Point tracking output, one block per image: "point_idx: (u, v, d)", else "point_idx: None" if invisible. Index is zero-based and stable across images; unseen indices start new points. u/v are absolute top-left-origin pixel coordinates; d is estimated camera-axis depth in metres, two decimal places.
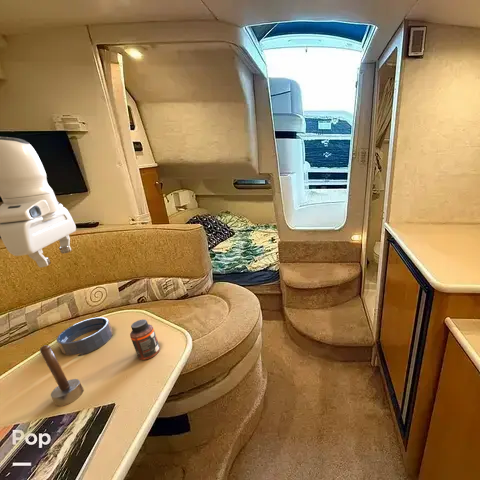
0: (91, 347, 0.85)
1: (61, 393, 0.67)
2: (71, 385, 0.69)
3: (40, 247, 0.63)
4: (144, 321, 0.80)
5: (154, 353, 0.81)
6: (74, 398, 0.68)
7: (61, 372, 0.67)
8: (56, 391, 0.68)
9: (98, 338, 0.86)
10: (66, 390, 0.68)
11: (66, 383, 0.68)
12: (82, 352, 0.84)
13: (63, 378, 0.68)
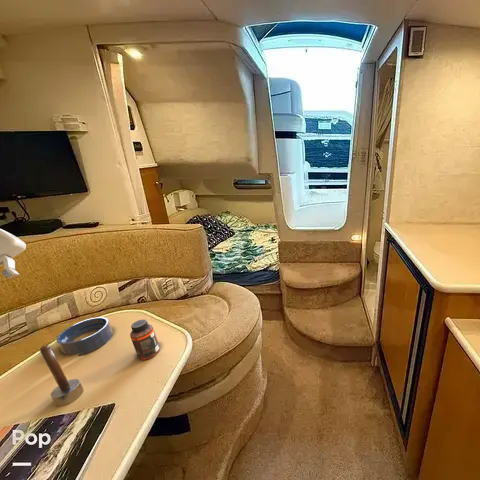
0: (91, 347, 0.85)
1: (61, 393, 0.67)
2: (71, 385, 0.69)
3: None
4: (144, 321, 0.80)
5: (154, 353, 0.81)
6: (74, 398, 0.68)
7: (61, 372, 0.67)
8: (56, 391, 0.68)
9: (98, 338, 0.86)
10: (66, 390, 0.68)
11: (66, 383, 0.68)
12: (82, 352, 0.84)
13: (63, 378, 0.68)
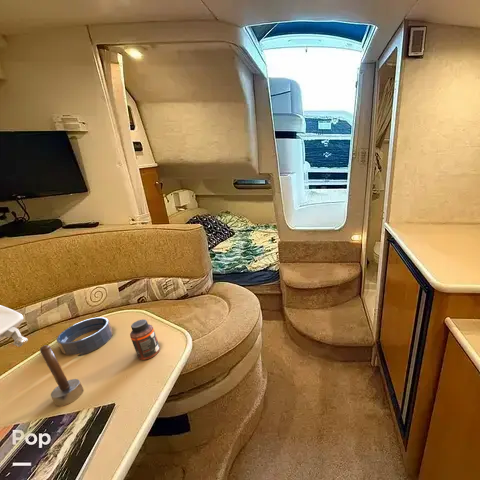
0: (91, 347, 0.85)
1: (61, 393, 0.67)
2: (71, 385, 0.69)
3: None
4: (144, 321, 0.80)
5: (154, 353, 0.81)
6: (74, 398, 0.68)
7: (61, 372, 0.67)
8: (56, 391, 0.68)
9: (98, 338, 0.86)
10: (66, 390, 0.68)
11: (66, 383, 0.68)
12: (82, 352, 0.84)
13: (63, 378, 0.68)
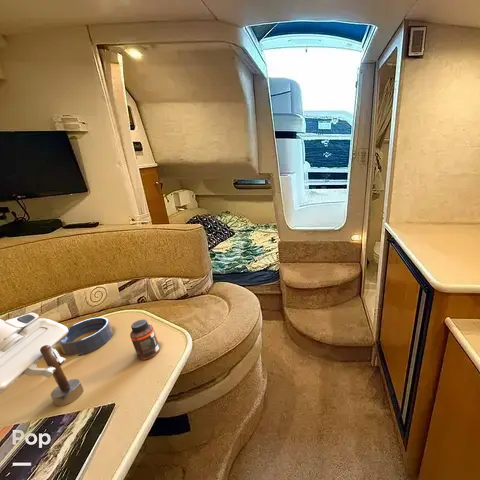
0: (91, 347, 0.85)
1: (61, 393, 0.67)
2: (71, 385, 0.69)
3: None
4: (144, 321, 0.80)
5: (154, 353, 0.81)
6: (74, 398, 0.68)
7: (61, 372, 0.67)
8: (56, 391, 0.68)
9: (98, 338, 0.86)
10: (66, 390, 0.68)
11: (66, 383, 0.68)
12: (82, 352, 0.84)
13: (63, 378, 0.68)
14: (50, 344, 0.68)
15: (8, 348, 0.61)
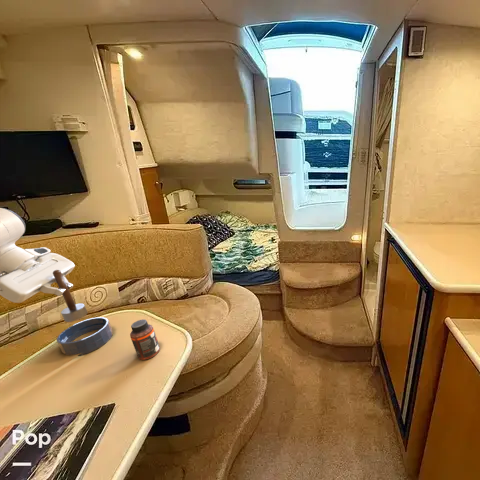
0: (91, 347, 0.85)
1: (69, 311, 0.82)
2: (78, 307, 0.84)
3: None
4: (144, 321, 0.80)
5: (154, 353, 0.81)
6: (80, 316, 0.84)
7: (69, 294, 0.82)
8: (65, 310, 0.83)
9: (98, 338, 0.86)
10: (73, 309, 0.83)
11: (73, 304, 0.83)
12: (82, 352, 0.84)
13: (71, 299, 0.83)
14: None
15: (27, 269, 0.76)
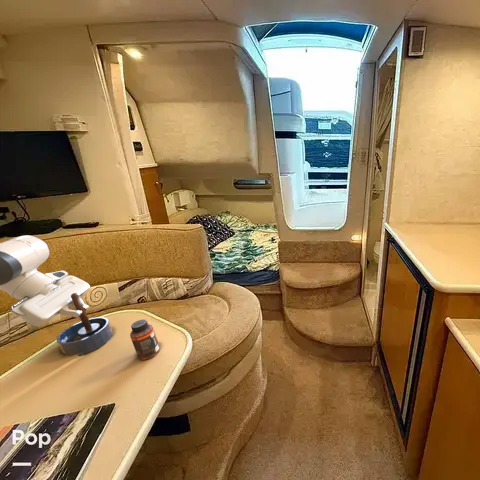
0: (91, 347, 0.85)
1: (86, 331, 0.87)
2: (93, 327, 0.89)
3: None
4: (144, 321, 0.80)
5: (154, 353, 0.81)
6: None
7: (86, 315, 0.87)
8: (81, 330, 0.88)
9: (98, 338, 0.86)
10: (89, 330, 0.88)
11: (89, 324, 0.88)
12: (82, 352, 0.84)
13: (87, 320, 0.88)
14: None
15: (47, 293, 0.81)
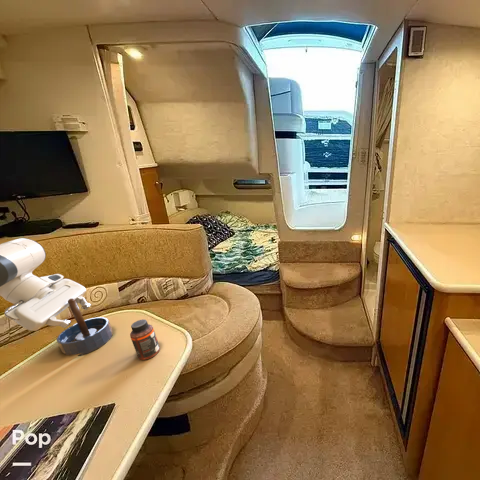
0: (91, 347, 0.85)
1: (83, 336, 0.87)
2: (91, 332, 0.89)
3: None
4: (144, 321, 0.80)
5: (154, 353, 0.81)
6: None
7: (83, 320, 0.87)
8: (79, 336, 0.88)
9: (98, 338, 0.86)
10: (87, 335, 0.88)
11: (87, 330, 0.88)
12: (82, 352, 0.84)
13: (84, 325, 0.87)
14: (73, 298, 0.87)
15: (43, 297, 0.80)
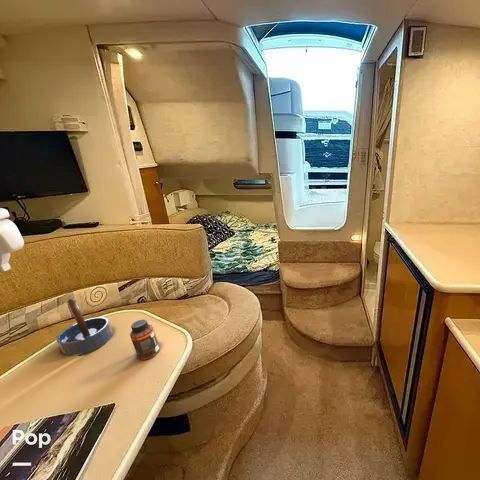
0: (91, 347, 0.85)
1: (83, 336, 0.87)
2: (91, 332, 0.89)
3: None
4: (144, 321, 0.80)
5: (154, 353, 0.81)
6: None
7: (83, 320, 0.87)
8: (79, 336, 0.88)
9: (98, 338, 0.86)
10: (87, 335, 0.88)
11: (87, 330, 0.88)
12: (82, 352, 0.84)
13: (84, 325, 0.87)
14: None
15: None
